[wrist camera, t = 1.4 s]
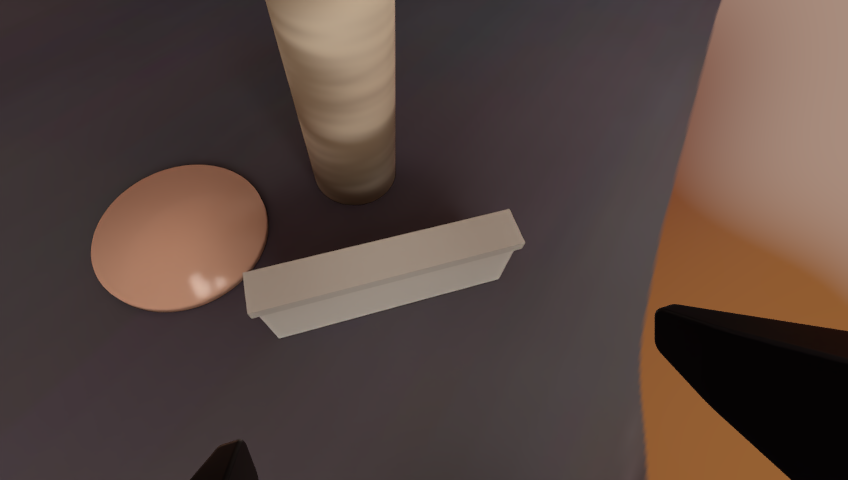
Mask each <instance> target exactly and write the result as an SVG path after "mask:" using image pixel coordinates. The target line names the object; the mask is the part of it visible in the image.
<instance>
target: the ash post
mask: <svg viewBox="0 0 848 480" xmlns="http://www.w3.org/2000/svg"><path fill="white" fill-rule="evenodd" d="M265 1H266V4H267V8H268V12H269V15H270V19H271V22H272V26H273V30H274V33H275V37H276V40H277V44H278V47H279V51H280V55H281V58H282V62H283V65H284V69H285V73H286V76H287V80H288V83H289V87H290V90H291V94H292V98H293V101H294V105H295V108H296V112H297V116H298V119H299V123H300V126H301V130H302V133H303V137H304V141H305V144H306V148H307V151H308V155H309V158H310V162H311V166H312V169H313V173H314V176H315V180H316V183H317V185H318V187H319V189H320V190H321V191H322V193H323V194H325V195H326V196H327V197H328V198H330V199H332V200H333V201H336V202H338V203H342V204H347V205H361V204H366V203H370V202H372V201H375V200H377V199H378V198H380V197H382V196H383V195H384V194H385V193H386V192H387V191H388V190H389V189H390V187H391V186H392V184H393V182H394V179H395V0H265Z"/></svg>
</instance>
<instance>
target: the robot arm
mask: <svg viewBox="0 0 848 480" xmlns="http://www.w3.org/2000/svg"><path fill="white" fill-rule="evenodd" d="M655 344H656V346H657V348H658V350H659V351H660V353H661V354H662V355H663V356H664V357H665V358H666V359H667V360H668V361H669V362H670V364H671V365H672V366H673V367H674V368H675V369H676V370H677V371H678V372H679V373H680V374H681V375H682V376H683V377H684V379H685V380H686V381H687V382H688V383H689V384H690V385H691V386H692V387H693V388H694V389H695V390H696V391H697V393H698V394H699V395H700V396H701V397H702V398H703V399H704V400H705V401H706V402H707V403H708V404H709V405H710V406H711V407H712V408H713V409H714V410H715V411H716V412H717V413H718V414H719V415H720V416H722V417H723V418H724V419H725V420H726V421H727V422H728V423H729V424H730V425H732V426H733V427H734V428H735V429H736V430H737V431H738V432H739V433H740V434H742V435H743V436H744V437H745V438H746V439H747V440H748V441H749V442H750V443H751V444H752V445H754V446H755V447H756V448H757V449H758V450H759V451H760V452H761V453H762V454H763V455H764V456H766V457H767V458H768V459H769V460H770V461H771V462H772V463H774V465H776V466H777V467H778V468H779V469H780V470H781V471H782V472H783V473H784V474H786V476H788V477H789V478H790V479H791V480H848V331H843V330H837V329H830V328H824V327H818V326H811V325H805V324H798V323H792V322H786V321H779V320H773V319H767V318H760V317H754V316H748V315H741V314H735V313H728V312H722V311H716V310H709V309H702V308H696V307H690V306H684V305H677V304H672V305H669V306H666V307H662V308H659V309H658V310H657V311H656V313H655ZM190 480H258V475H257V472H256V469H255V466H254V463H253V461H252V458H251V456H250V453H249V450H248V448H247V445H246V443H245V442H244V441H243V440H241V439H238V440H235V441H232V442H229V443H225V444H222V445H220V446H219V447H218V448H217V449H216V450H215V451H214V452H213V453H212V455H211V456H210V457H209V458H208V459H207V460H206V462H205V463H204V464H203V465H202V466H201V467H200V469H199V470H198V471H197V472H196V473H195V475H194V476H193V477H192V478H191V479H190Z"/></svg>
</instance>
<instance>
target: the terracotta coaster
mask: <svg viewBox="0 0 848 480" xmlns="http://www.w3.org/2000/svg"><path fill="white" fill-rule="evenodd" d="M268 229H269V222H268V215H267V211H266V208H265V206H264V204H263V202H262V200H261V198H260V196H259V194H258V192H257V191H256V189H255V188H254V187H253V186H252V185H251V184H250V183H249V182H248V181H247V180H246V179H244V178H243V177H242V176H240V175H238V174H236V173H234V172H233V171H230V170H227V169H225V168H221V167H217V166H210V165H184V166H179V167H173V168H170V169H166V170H163V171H160V172H157V173H155V174H152V175H150V176H148V177H146V178H144V179H142V180H140V181H139V182H137V183H135V184H134V185H132V186H131V187H130V188H128V189H127V190H126V191H124V192H123V193H122V194H121V195H120V196H119V197H118V198H116V200H115V201H114V202H113V203H112V204H111V205H110V206H109V207H108V209H107V210H106V212H105V213H104V214H103V216H102V218H101V219H100V221H99V223H98V225H97V228H96V230H95V233H94V236H93V240H92V246H91V259H92V265H93V268H94V272H95V274H96V276H97V278H98V280H99V281H100V283H101V284H102V285H103V287H104V288H105V289H106V290H108V291H109V292H110V293H111V294H112V295H114V296H115V297H117V298H118V299H120V300H121V301H123V302H125V303H126V304H128V305H131V306H133V307H135V308H138V309H142V310H146V311H152V312H178V311H184V310H189V309H193V308H196V307H199V306H202V305H205V304H207V303H210V302H212V301H214V300H216V299H218V298H220V297H221V296H223V295H225V294H226V293H228V292H229V291H231V290H232V289H233V288H234V287H236V286H237V285H238V284H239V283H240V282H241V281H242V280H243V273H244V272H248V271H252V269H253V268H254V267H255V265H256V264H257V262H258V261H259V259H260V257H261V255H262V253H263V251H264V248H265V245H266V242H267V237H268Z"/></svg>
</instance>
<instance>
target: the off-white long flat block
mask: <svg viewBox="0 0 848 480" xmlns="http://www.w3.org/2000/svg"><path fill="white" fill-rule="evenodd" d="M524 244H525V241H524V239H523V237H522V235H521V233H520V231H519V228H518V226H517V224H516V222H515V220H514V218H513V216H512V213H511V211H510V209H507V210H503V211H499V212H495V213H490V214H486V215H482V216H478V217H474V218H470V219H465V220H461V221H457V222H453V223H449V224H444V225H440V226H436V227H432V228H428V229H424V230H419V231H415V232H411V233H407V234H403V235H398V236H394V237H390V238H386V239H382V240H378V241H373V242H369V243H365V244H361V245H357V246H352V247H348V248H344V249H340V250H336V251H332V252H327V253H323V254H319V255H315V256H311V257H306V258H302V259H298V260H294V261H290V262H286V263H281V264H277V265H273V266H269V267H265V268H260V269H256V270H252V271H248V272H244V273H243V281H244V290H245V298H246V306H247V314H248V315H249V316H250V317H251V318H256V317H260V318H261V319H262V320H263V321H264V322H265V323H266V325H267V326H268V327H269V328H270V329H271V330H272V331H273V332H274V333H275V335H276V336H277V337H278V338H283V337H287V336H291V335H294V334H298V333H302V332H305V331H309V330H313V329H316V328H320V327H324V326H327V325H331V324H335V323H339V322H342V321H346V320H350V319H353V318H357V317H361V316H364V315H368V314H372V313H375V312H379V311H383V310H387V309H390V308H394V307H398V306H401V305H405V304H409V303H412V302H416V301H420V300H423V299H427V298H431V297H434V296H438V295H442V294H446V293H449V292H453V291H457V290H460V289H464V288H468V287H471V286H475V285H479V284H482V283H486V282H490V281H494V280H497V279H499V277H500V276H501V274H502V272H503V270H504V268H505V266H506V264H507V262H508V261H509V259H510V257H511V255H512V253H513V251H515V250H518V249H522V247H523V246H524Z"/></svg>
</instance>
